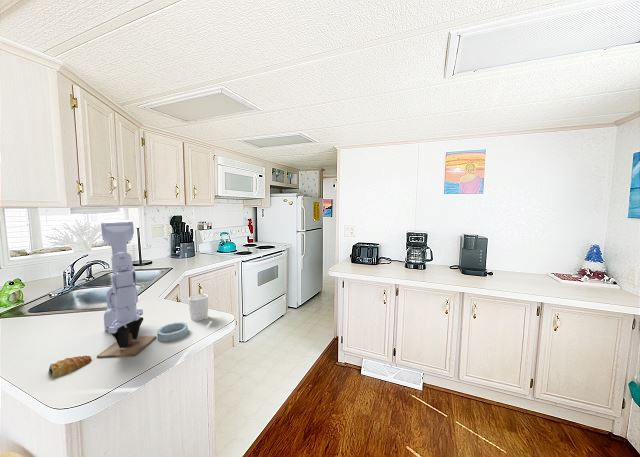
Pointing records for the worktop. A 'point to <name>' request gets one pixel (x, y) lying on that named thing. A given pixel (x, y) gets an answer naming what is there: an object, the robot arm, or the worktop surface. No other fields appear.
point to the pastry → (68, 365)
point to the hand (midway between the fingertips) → (128, 343)
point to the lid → (131, 349)
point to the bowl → (174, 335)
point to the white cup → (198, 307)
